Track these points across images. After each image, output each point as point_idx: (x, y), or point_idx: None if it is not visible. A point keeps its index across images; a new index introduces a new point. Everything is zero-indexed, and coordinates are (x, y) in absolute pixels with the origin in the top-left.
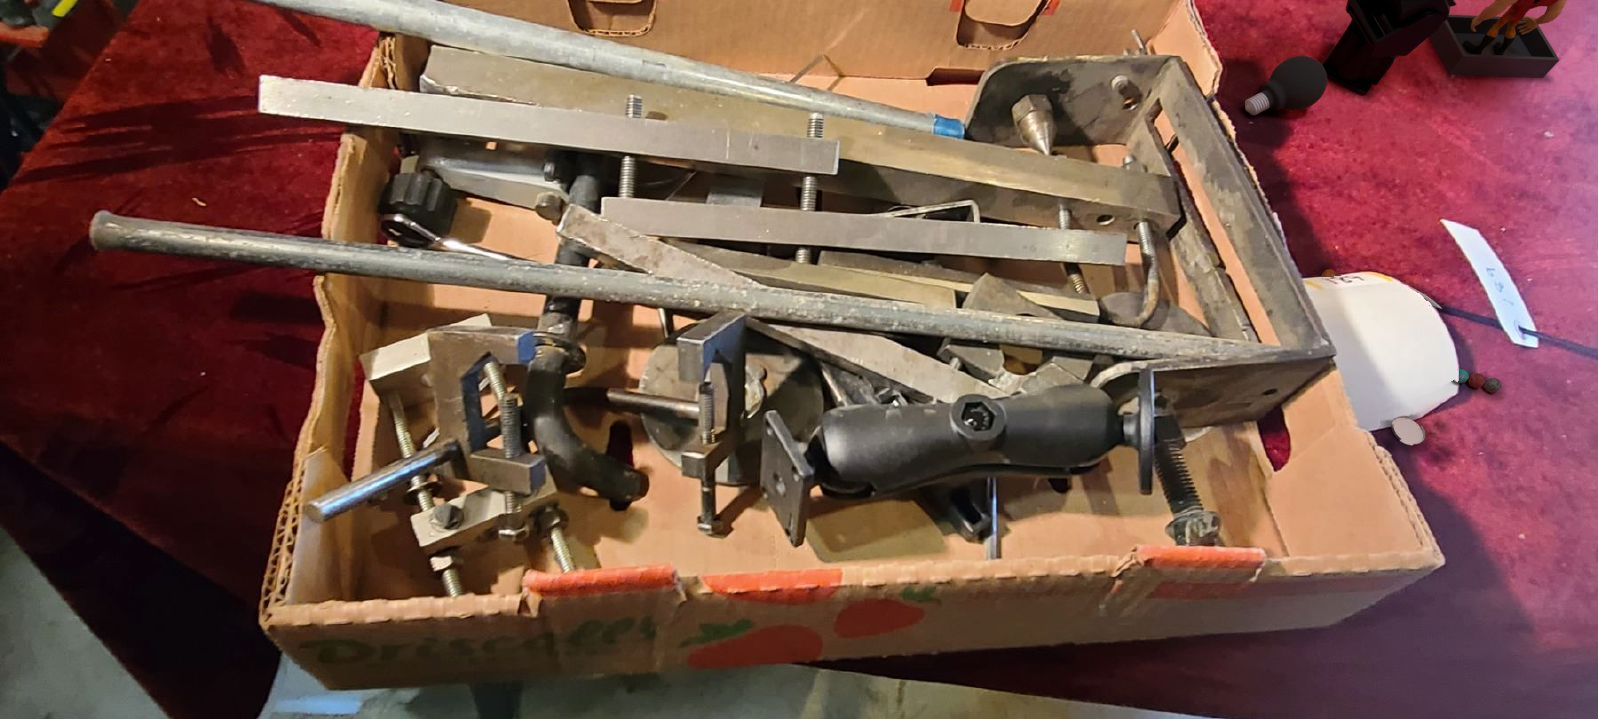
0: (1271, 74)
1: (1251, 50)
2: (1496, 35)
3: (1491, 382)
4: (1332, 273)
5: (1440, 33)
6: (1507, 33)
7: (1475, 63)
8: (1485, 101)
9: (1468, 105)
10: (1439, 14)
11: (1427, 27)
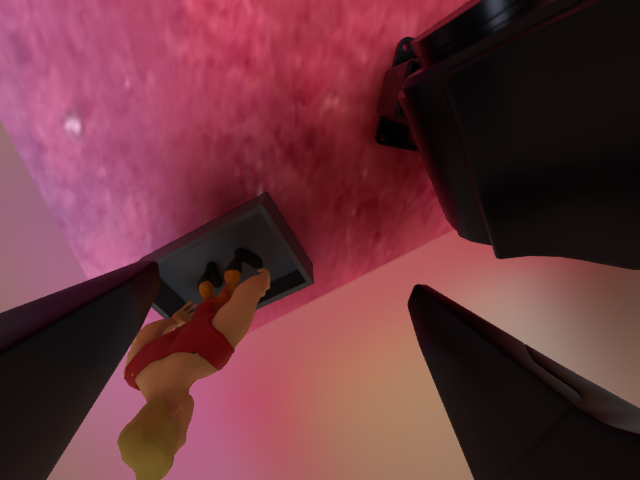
0: None
1: None
2: (225, 274)
3: None
4: None
5: (301, 256)
6: (210, 286)
7: (237, 212)
8: (196, 157)
9: (218, 129)
10: (487, 5)
11: (465, 8)
